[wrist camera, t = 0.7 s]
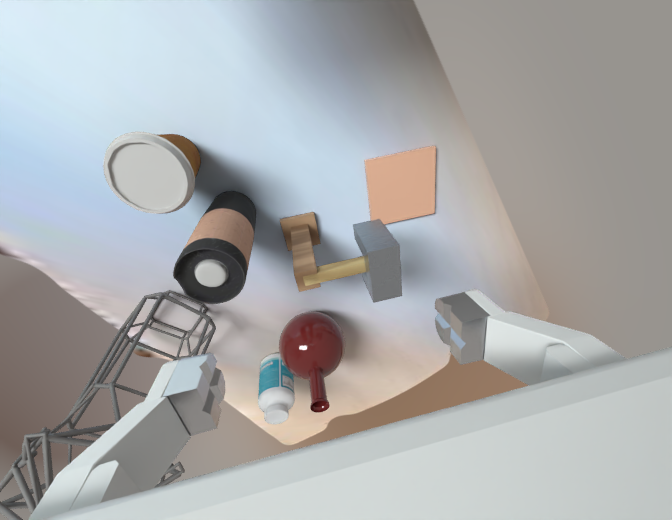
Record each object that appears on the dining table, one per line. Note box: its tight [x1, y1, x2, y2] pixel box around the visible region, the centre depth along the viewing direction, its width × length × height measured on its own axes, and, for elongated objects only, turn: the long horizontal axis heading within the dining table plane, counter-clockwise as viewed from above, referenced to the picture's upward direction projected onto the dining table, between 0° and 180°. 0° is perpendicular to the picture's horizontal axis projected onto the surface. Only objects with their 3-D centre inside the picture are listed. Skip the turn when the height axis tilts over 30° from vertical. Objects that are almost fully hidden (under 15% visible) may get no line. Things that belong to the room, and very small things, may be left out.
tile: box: [364, 146, 436, 224], centre depth 51 cm, size 12×12×1 cm
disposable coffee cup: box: [103, 132, 201, 214], centre depth 39 cm, size 10×10×12 cm
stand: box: [280, 212, 366, 292], centre depth 46 cm, size 6×16×16 cm, turn 99°
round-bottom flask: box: [279, 311, 345, 412], centre depth 56 cm, size 13×13×20 cm
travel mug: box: [173, 191, 256, 304], centre depth 41 cm, size 8×8×20 cm
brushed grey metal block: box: [353, 219, 402, 303], centre depth 41 cm, size 8×4×8 cm, turn 9°
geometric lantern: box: [0, 290, 216, 520], centre depth 43 cm, size 16×16×35 cm
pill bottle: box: [258, 353, 294, 424], centre depth 63 cm, size 8×7×14 cm
